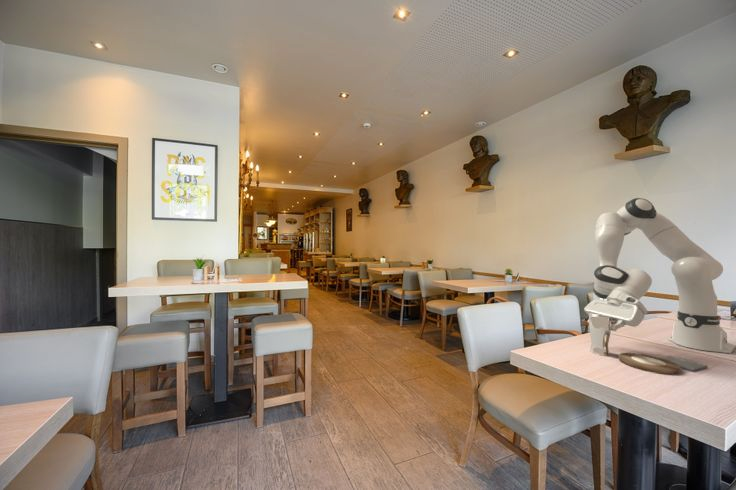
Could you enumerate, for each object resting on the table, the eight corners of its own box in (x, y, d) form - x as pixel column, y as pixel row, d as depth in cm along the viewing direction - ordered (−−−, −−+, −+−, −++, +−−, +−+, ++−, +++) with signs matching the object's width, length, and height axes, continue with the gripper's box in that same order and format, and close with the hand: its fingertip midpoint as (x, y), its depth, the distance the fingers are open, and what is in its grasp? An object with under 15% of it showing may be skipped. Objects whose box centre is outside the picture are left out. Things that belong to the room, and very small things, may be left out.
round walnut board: (633, 354, 116) (633, 350, 116) (690, 370, 101) (690, 365, 101) (609, 359, 110) (609, 355, 110) (665, 377, 95) (665, 372, 95)
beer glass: (615, 356, 113) (615, 318, 113) (594, 355, 114) (594, 317, 114) (604, 350, 120) (604, 314, 120) (585, 349, 121) (585, 313, 121)
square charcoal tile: (669, 357, 112) (669, 355, 112) (707, 367, 103) (707, 365, 103) (655, 361, 109) (655, 359, 109) (692, 371, 99) (692, 369, 99)
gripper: (592, 292, 130) (573, 315, 128) (643, 301, 109) (621, 328, 108) (600, 302, 130) (581, 324, 129) (652, 312, 110) (631, 339, 108)
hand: (600, 326), depth 118 cm, fingers open, 8 cm apart
